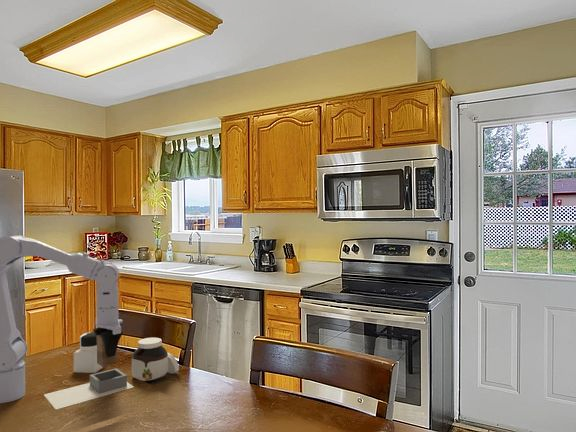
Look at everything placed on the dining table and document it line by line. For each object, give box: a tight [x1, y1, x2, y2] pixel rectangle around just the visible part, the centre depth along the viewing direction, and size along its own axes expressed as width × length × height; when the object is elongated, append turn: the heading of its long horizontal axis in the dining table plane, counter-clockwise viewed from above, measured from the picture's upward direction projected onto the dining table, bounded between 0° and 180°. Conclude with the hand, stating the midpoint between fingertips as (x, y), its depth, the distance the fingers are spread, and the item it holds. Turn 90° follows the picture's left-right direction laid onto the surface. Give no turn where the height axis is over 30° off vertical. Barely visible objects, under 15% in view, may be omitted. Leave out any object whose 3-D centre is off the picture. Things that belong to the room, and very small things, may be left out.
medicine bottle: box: [73, 331, 104, 374], centre depth 135 cm, size 7×7×12 cm
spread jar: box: [131, 337, 179, 384], centre depth 130 cm, size 12×11×12 cm
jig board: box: [43, 368, 135, 410], centre depth 117 cm, size 20×12×4 cm, turn 133°
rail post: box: [97, 335, 118, 368], centre depth 120 cm, size 4×4×8 cm
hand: (108, 354), depth 121 cm, fingers closed on rail post, 4 cm apart
